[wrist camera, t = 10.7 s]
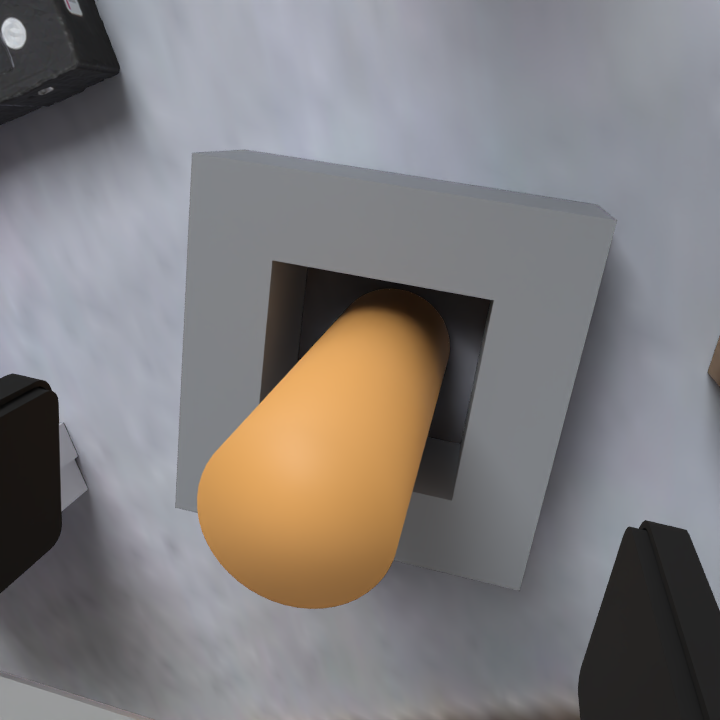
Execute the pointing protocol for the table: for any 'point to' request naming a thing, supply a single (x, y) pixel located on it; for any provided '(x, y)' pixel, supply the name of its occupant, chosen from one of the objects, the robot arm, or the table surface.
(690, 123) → the table surface
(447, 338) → the pin
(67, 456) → the walkman
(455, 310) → the table surface
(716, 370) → the block
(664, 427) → the table surface
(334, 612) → the table surface
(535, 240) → the socket block
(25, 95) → the disk drive
